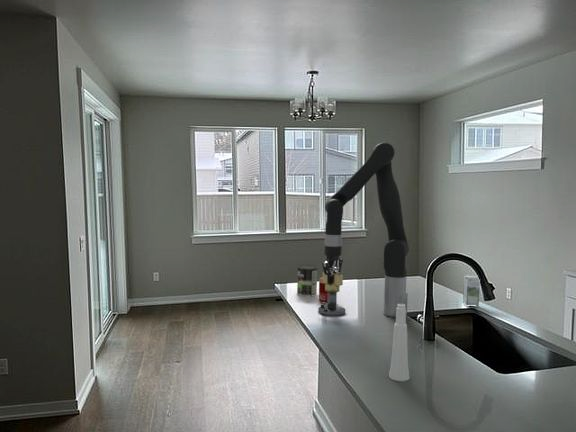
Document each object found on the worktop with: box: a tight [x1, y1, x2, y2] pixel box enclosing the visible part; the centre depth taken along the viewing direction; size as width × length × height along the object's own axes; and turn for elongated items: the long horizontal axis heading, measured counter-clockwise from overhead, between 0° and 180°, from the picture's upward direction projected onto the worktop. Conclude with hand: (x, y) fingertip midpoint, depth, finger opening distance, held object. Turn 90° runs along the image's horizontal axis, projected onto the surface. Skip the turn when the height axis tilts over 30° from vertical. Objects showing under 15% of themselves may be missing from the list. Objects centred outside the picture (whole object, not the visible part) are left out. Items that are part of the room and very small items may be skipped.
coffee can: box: [296, 264, 318, 297], centre depth 239 cm, size 10×10×14 cm
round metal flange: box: [317, 292, 346, 317], centre depth 206 cm, size 12×12×10 cm
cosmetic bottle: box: [388, 304, 410, 382], centre depth 137 cm, size 6×6×22 cm
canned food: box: [318, 278, 328, 304], centre depth 225 cm, size 8×8×11 cm
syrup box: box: [462, 274, 481, 306], centre depth 220 cm, size 6×6×14 cm
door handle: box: [318, 272, 344, 293], centre depth 205 cm, size 10×6×8 cm, turn 53°
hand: (332, 283), depth 205 cm, fingers open, 3 cm apart
